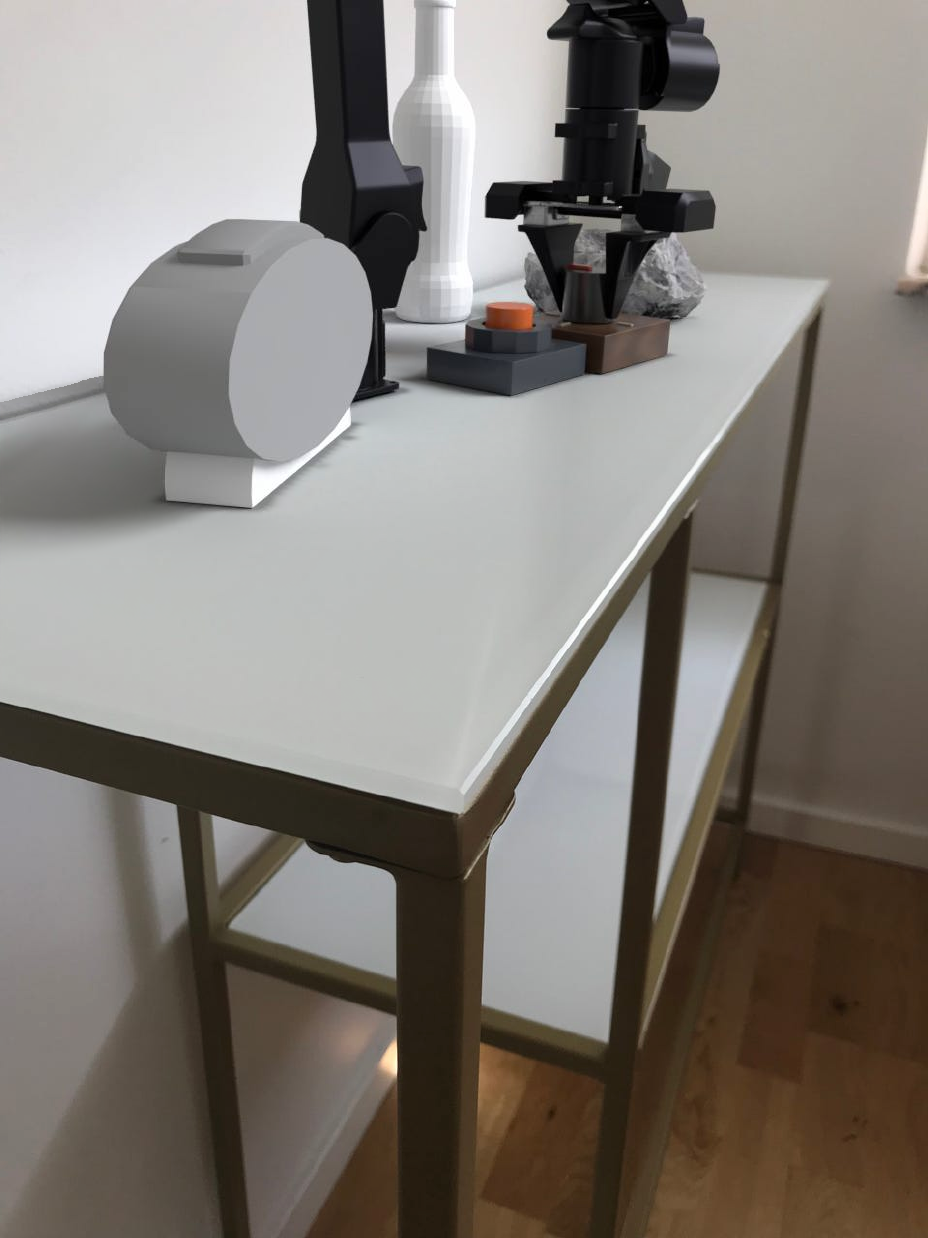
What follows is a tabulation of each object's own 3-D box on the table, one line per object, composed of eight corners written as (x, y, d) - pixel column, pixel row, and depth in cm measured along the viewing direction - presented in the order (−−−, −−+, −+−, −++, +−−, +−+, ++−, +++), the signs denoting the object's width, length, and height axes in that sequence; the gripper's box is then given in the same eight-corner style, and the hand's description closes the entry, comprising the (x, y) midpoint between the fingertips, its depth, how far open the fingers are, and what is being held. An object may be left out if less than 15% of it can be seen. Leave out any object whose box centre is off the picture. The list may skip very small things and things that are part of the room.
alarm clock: (287, 407, 70) (275, 205, 64) (374, 413, 69) (371, 208, 63) (117, 520, 49) (80, 236, 44) (239, 531, 48) (216, 242, 43)
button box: (511, 395, 74) (513, 339, 73) (426, 379, 79) (426, 325, 77) (584, 374, 82) (588, 322, 80) (503, 360, 86) (504, 310, 84)
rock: (717, 299, 111) (719, 202, 106) (693, 350, 100) (694, 246, 95) (555, 299, 118) (548, 208, 112) (516, 348, 107) (507, 249, 101)
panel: (602, 374, 82) (605, 333, 80) (500, 356, 87) (501, 318, 86) (667, 354, 90) (671, 317, 88) (570, 339, 95) (572, 304, 94)
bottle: (486, 316, 106) (497, -25, 93) (444, 327, 100) (448, -37, 87) (422, 308, 110) (423, -20, 97) (376, 318, 104) (371, -32, 91)
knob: (623, 319, 87) (627, 266, 86) (596, 325, 84) (600, 270, 82) (579, 313, 90) (582, 261, 88) (551, 319, 87) (554, 265, 85)
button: (514, 334, 76) (515, 310, 76) (475, 328, 78) (476, 305, 78) (541, 328, 79) (542, 305, 78) (503, 323, 81) (504, 300, 80)
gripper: (757, 112, 81) (731, 316, 88) (558, 110, 91) (549, 293, 98) (692, 109, 73) (669, 334, 80) (482, 107, 83) (478, 307, 90)
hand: (588, 315), depth 87 cm, fingers closed on knob, 4 cm apart
